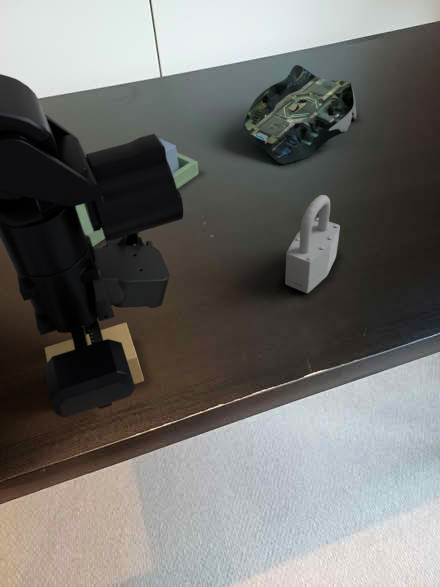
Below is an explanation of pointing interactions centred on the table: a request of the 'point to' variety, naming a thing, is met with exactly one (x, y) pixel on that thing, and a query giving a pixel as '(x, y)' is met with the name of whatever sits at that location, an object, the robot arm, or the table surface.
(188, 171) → the tray
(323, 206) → the padlock
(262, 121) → the model
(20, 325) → the table surface
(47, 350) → the tan block
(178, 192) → the robot arm
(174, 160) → the blue block
